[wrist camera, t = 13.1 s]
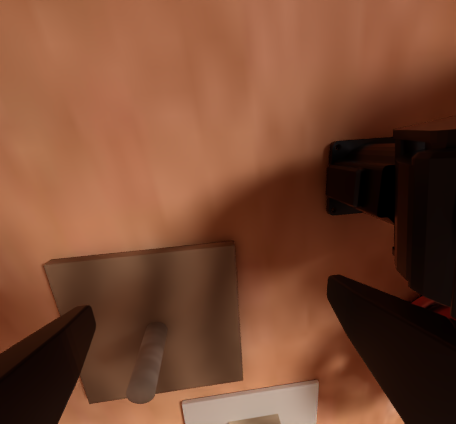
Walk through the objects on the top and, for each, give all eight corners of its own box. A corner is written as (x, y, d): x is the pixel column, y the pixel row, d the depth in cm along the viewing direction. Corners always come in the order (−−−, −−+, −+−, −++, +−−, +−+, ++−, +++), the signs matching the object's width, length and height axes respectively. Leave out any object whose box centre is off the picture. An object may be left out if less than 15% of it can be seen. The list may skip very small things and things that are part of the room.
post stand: (233, 240, 21) (246, 282, 15) (241, 371, 26) (254, 448, 19) (51, 259, 20) (-23, 314, 13) (93, 393, 24) (54, 483, 18)
